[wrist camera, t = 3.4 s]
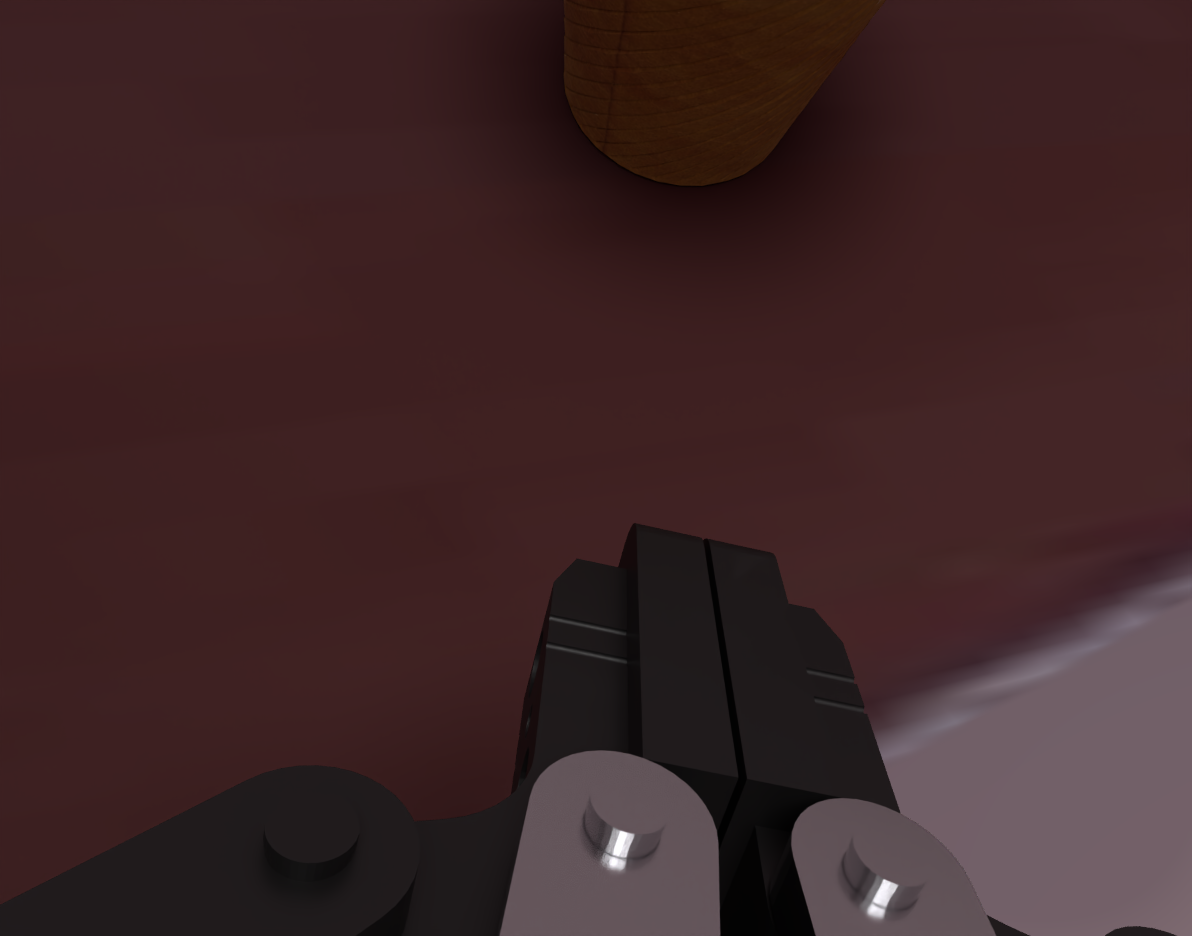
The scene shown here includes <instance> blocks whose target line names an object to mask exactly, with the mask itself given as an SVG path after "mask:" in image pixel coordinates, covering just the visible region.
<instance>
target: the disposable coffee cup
mask: <svg viewBox="0 0 1192 936" xmlns="http://www.w3.org/2000/svg"><path fill="white" fill-rule="evenodd" d="M885 1H886V0H564V13H565V17H564V26H565V35H564V49H565V53H564V64H565V67H564V84H565V94H566V96H567V99H568V102H569V105H570V108H571V110H572V113H573V116H574V118H575V119H576V121H577V123H578V125H579V126H580V128H581V130H582V131H583V132H584V133H585V135H586V136H587V137H588V138H589V139H590V140H591V142H592V143H593V144H594V145H595V146H596V147H597V148H598V149H599V150H601V151H602V152H603V153H604V154H606V155H607V156H608V157H610V158H611V159H612V160H613V161H615V162H616V163H617V164H619V165H621V166H622V167H624V168H626V169H628V170H630V171H631V172H633V173H635V174H638V175H641V176H644V177H646V178H649V179H652V180H655V181H658V182H663V183H669V184H674V185H680V186H704V185H709V184H714V183H719V182H724V181H728V180H731V179H734V178H736V177H739V176H741V175H744V174H745V173H747V172H748V171H750V170H751V169H752V168H754V167H755V166H757V165H758V164H760V163H761V162H763V161H764V159H765V158H766V157H767V156H768V155H769V154H770V153H771V152H772V151H773V150H774V148H775V147H776V145H777V144H778V142H779V141H780V140H781V138H782V137H783V136H784V134H785V133H786V132H787V130H788V129H789V128H790V126H791V125H792V124H793V122H794V121H795V120H796V118H797V117H798V115H799V114H800V113H801V112H802V110H803V109H804V108H805V107H806V105H807V104H808V103H809V101H810V100H811V98H812V97H813V96H814V95H815V93H816V92H817V91H818V90H819V88H820V86H821V85H822V84H823V82H824V81H825V80H826V79H827V77H828V76H829V75H830V74H831V72H832V70H833V69H834V68H835V67H836V66H837V64H838V63H839V62H840V61H841V59H842V58H843V57H844V55H845V54H846V52H847V51H848V49H849V48H850V47H851V46H852V44H853V43H854V42H855V41H856V39H857V37H858V36H859V35H860V33H861V32H862V31H863V30H864V28H865V27H866V26H867V25H868V23H869V22H870V20H871V18H872V17H873V16H874V15H875V13H876V12H877V11H878V10H879V8H880V7H881V6H882V5H883V4H884V2H885Z"/></svg>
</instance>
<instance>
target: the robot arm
mask: <svg viewBox="0 0 1192 936" xmlns="http://www.w3.org/2000/svg"><path fill="white" fill-rule="evenodd" d="M854 678H855V677H854V674H853V671H852V668H851V665H850V662H849V659H848V656H847V653H846V651H845V648H844V645H843V642H842V641H841V640H840V639H839V638H838V637H837V635H836V634H835V633H834V632H833V631H832V630H831V628H830V627H829V626H828V625H827V624H826V623H825V621H824V620H823V619H822V618H821V617H820V616H819V615H818V613H817V612H816V611H815V610H814V609H811V608H807V607H802V606H797V605H793V604H788V600H787V597H786V593H785V589H784V586H783V582H782V578H781V574H780V571H779V567H778V563H777V560H776V557H775V555H774V554H773V553H770V552H766V551H761V550H756V549H752V548H747V547H743V546H738V545H734V544H729V543H724V542H720V541H715V540H711V539H704V540H702V538H700V537H696V536H691V535H687V534H682V533H677V532H673V531H668V530H664V529H659V528H654V527H650V526H645V525H641V524H636V523H634V524H633V525H632V527H631V529H630V531H629V533H628V536H627V539H626V542H625V545H624V549H623V552H622V556H621V559H620V563H619V566H618V567H614V566H609V565H604V564H600V563H595V562H590V561H586V560H581V559H576V560H575V561H574V562H573V563H572V564H571V565H570V566H569V567H568V568H567V569H566V570H565V571H564V572H563V573H562V574H561V575H560V576H559V577H558V578H557V579H556V580H555V581H554V584H553V588H552V592H551V596H550V599H549V603H548V607H547V611H546V615H545V619H544V623H543V627H542V631H541V635H540V639H539V643H538V646H537V650H536V654H535V658H534V662H533V666H532V670H531V674H530V678H529V682H528V686H527V690H526V693H525V697H524V704H523V711H522V718H521V726H520V733H519V735H520V736H519V741H518V748H517V755H516V763H515V765H516V766H515V771H514V777H513V785H512V792H511V795H510V796H509V797H508V798H506V799H505V800H503V801H502V802H500V803H498V804H497V805H495V806H493V807H491V808H488V809H486V810H484V811H481V812H478V813H475V814H471V815H467V816H464V817H457V818H450V819H440V820H428V821H416V822H414V820H413V818H412V817H411V815H410V813H409V812H408V810H407V809H406V807H405V806H404V805H403V804H402V802H401V801H400V800H399V799H398V798H397V797H396V796H395V795H394V794H393V793H391V792H390V791H389V790H388V789H386V788H385V787H384V786H382V785H381V784H379V783H377V782H375V781H373V780H372V779H370V778H368V777H366V776H363V775H360V774H358V773H355V772H352V771H348V770H344V769H340V768H336V767H327V766H317V765H315V766H294V767H287V768H281V769H277V770H273V771H270V772H266V773H263V774H260V775H258V776H256V777H253V778H251V779H248V780H246V781H244V782H242V783H240V784H238V785H236V786H234V787H232V788H230V789H228V790H226V791H224V792H222V793H220V794H218V795H216V796H214V797H212V798H211V799H209V800H207V801H205V802H203V803H201V804H199V805H197V806H195V807H193V808H191V809H189V810H187V811H185V812H183V813H181V814H179V815H177V816H175V817H173V818H171V819H169V820H167V821H165V822H163V823H161V824H159V825H157V826H155V827H153V828H151V829H149V830H147V831H145V832H143V833H141V834H139V835H137V836H135V837H133V838H131V839H129V840H127V841H125V842H123V843H121V844H120V845H118V846H116V847H114V848H112V849H110V850H108V851H106V852H104V853H102V854H100V855H98V856H96V857H94V858H92V859H90V860H88V861H86V862H84V863H82V864H80V865H78V866H76V867H74V868H72V869H70V870H68V871H66V872H64V873H62V874H60V875H58V876H56V877H54V878H52V879H50V880H48V881H46V882H44V883H42V884H40V885H38V886H36V887H34V888H32V889H31V890H29V891H27V892H25V893H23V894H21V895H19V896H17V897H15V898H13V899H11V900H9V901H7V902H5V903H3V904H1V905H0V936H1029V935H1027V934H1025V933H1023V932H1020V931H1018V930H1016V929H1014V928H1012V927H1009V926H1007V925H1005V924H1003V923H1001V922H999V921H998V920H995V919H994V918H992V917H989V916H988V915H986V913H985V911H984V909H983V907H982V904H981V902H980V900H979V898H978V896H977V894H976V892H975V890H974V888H973V885H972V883H971V881H970V880H969V878H968V876H967V874H966V872H965V871H964V869H963V867H962V866H961V865H960V863H959V862H958V861H957V859H956V858H955V857H954V856H953V854H952V853H951V852H950V851H949V850H948V849H947V848H946V847H945V846H944V845H943V844H942V843H941V842H940V841H939V840H938V839H937V838H935V836H933V835H932V834H931V833H930V832H929V831H927V830H926V829H924V828H923V827H922V826H920V825H919V824H917V823H916V822H914V821H912V820H910V819H909V818H907V817H906V816H904V815H902V814H901V813H900V810H899V807H898V804H897V801H896V799H895V795H894V792H893V789H892V787H891V784H890V781H889V778H888V775H887V772H886V769H885V766H884V763H883V760H882V757H881V754H880V751H879V748H878V745H877V742H876V739H875V736H874V733H873V730H872V727H871V724H870V721H869V719H868V716H867V714H864V713H863V710H864V704H863V701H862V698H861V695H860V692H859V689H858V686H857V684H854ZM1105 936H1176V935H1174V934H1171V933H1168V932H1164V931H1161V930H1157V929H1153V928H1147V927H1140V926H1139V927H1137V926H1133V927H1123V928H1119V929H1115V930H1113V931H1112V932H1110V933H1108V934H1106V935H1105Z"/></svg>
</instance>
